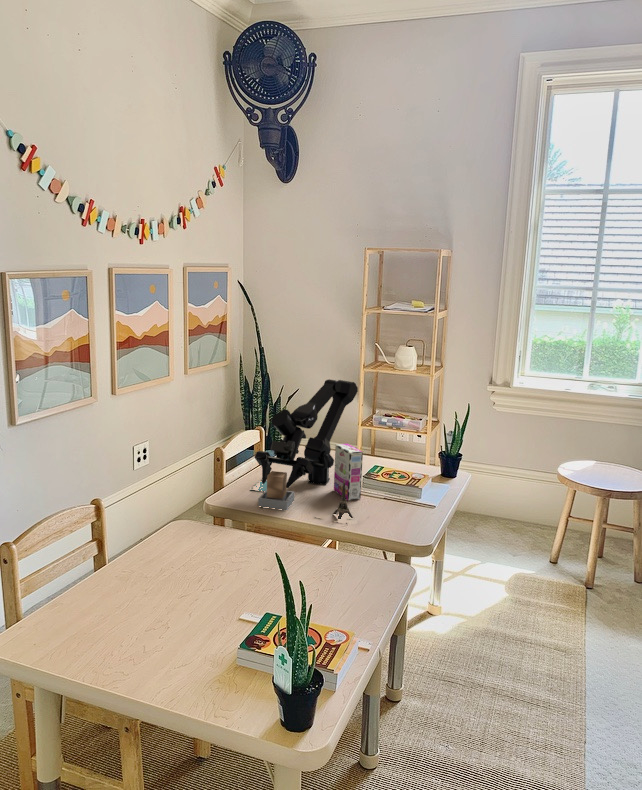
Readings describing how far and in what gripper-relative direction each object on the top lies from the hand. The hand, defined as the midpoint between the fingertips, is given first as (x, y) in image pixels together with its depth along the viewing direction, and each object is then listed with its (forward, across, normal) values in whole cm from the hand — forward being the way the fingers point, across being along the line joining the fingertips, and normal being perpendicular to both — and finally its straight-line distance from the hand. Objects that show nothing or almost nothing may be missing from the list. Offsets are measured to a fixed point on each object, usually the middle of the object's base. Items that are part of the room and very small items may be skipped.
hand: (274, 485), depth 207 cm
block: (+4, 0, +6) cm, 7 cm away
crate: (+4, 0, +6) cm, 7 cm away
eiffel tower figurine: (+5, +22, +6) cm, 24 cm away
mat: (-5, -9, +15) cm, 18 cm away
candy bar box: (-9, +17, +19) cm, 27 cm away
